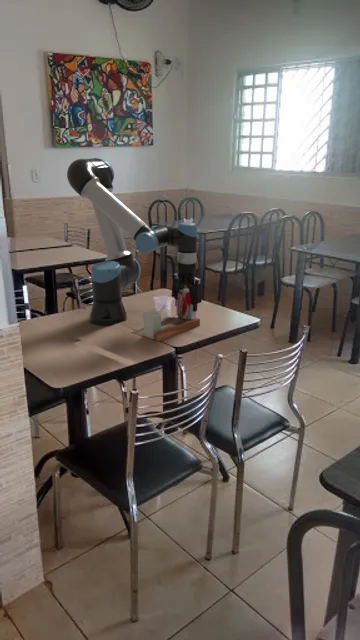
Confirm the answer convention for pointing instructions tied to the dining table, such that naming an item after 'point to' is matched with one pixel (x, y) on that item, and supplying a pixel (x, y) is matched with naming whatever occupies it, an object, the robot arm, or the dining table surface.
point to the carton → (151, 323)
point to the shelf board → (171, 328)
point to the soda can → (184, 304)
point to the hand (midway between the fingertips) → (185, 316)
